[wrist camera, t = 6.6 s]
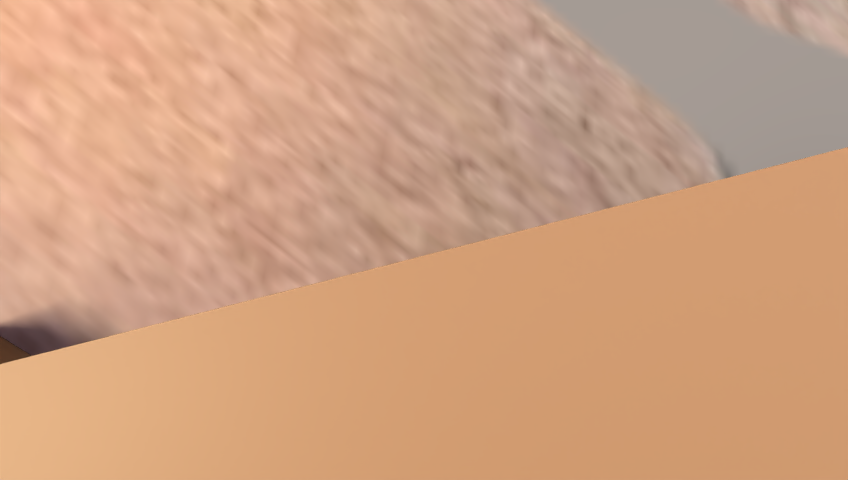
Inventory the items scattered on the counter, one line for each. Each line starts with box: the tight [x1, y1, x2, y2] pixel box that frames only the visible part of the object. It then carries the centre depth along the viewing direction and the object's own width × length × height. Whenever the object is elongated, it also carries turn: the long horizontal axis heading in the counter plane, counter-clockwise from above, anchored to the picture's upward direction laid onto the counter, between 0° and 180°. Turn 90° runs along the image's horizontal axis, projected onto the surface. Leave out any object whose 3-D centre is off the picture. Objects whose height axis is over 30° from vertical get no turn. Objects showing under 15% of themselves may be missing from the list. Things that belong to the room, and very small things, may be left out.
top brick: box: [0, 147, 848, 480], centre depth 8 cm, size 5×5×13 cm
